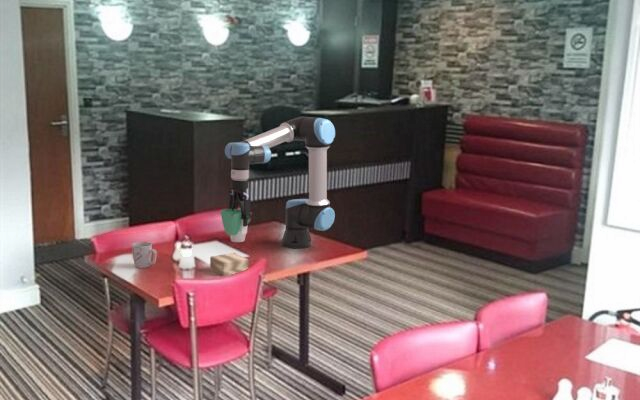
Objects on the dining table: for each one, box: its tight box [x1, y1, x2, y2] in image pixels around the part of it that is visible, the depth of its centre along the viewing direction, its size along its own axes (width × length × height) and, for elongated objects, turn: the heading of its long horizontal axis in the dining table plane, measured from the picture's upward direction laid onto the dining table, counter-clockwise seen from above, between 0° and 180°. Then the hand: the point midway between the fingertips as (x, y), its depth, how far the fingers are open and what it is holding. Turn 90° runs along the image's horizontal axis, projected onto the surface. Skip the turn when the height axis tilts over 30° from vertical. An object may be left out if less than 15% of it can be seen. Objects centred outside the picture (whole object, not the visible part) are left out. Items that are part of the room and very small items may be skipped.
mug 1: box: [131, 241, 158, 269], centre depth 300 cm, size 11×8×10 cm
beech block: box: [209, 252, 249, 277], centre depth 298 cm, size 12×12×6 cm
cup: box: [229, 224, 249, 243], centre depth 348 cm, size 12×12×12 cm
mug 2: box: [220, 208, 253, 236], centre depth 295 cm, size 15×10×10 cm
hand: (238, 231), depth 296 cm, fingers closed on mug 2, 8 cm apart
